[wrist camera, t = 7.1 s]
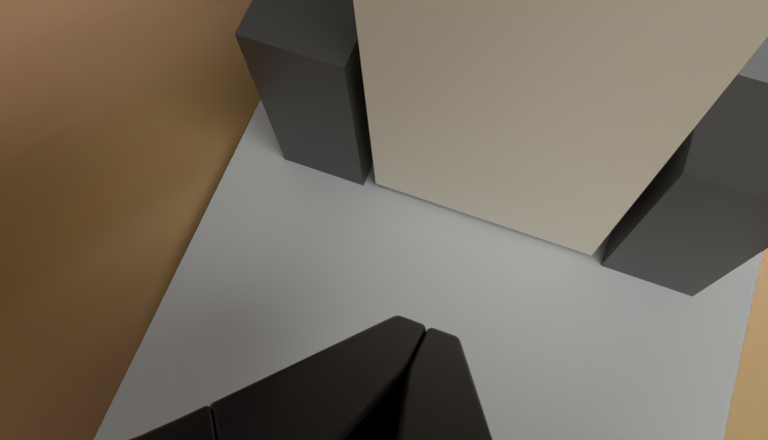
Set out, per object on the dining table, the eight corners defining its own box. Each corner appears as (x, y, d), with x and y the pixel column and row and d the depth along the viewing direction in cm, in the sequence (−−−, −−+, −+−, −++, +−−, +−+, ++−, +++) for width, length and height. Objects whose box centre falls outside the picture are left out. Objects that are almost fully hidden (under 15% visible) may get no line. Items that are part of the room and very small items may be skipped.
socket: (631, 774, 13) (794, 994, 8) (72, 524, 15) (-132, 552, 9) (811, -48, 19) (975, -265, 14) (399, -154, 21) (394, -382, 16)
